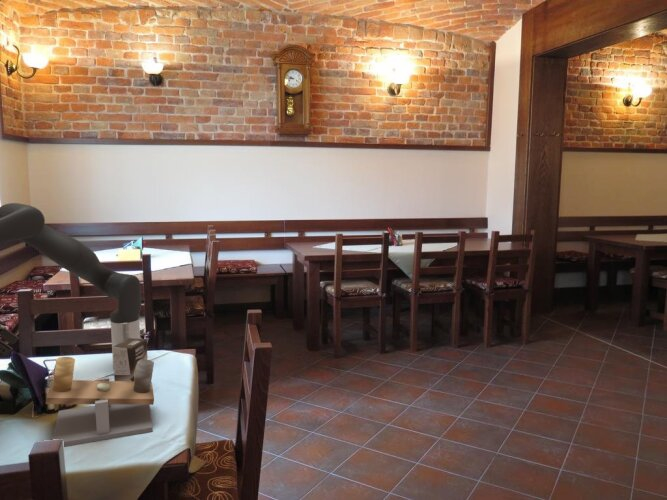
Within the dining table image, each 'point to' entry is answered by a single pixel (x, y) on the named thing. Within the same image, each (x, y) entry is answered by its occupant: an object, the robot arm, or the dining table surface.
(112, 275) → the robot arm
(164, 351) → the dining table surface
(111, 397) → the plate
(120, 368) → the coffee box
